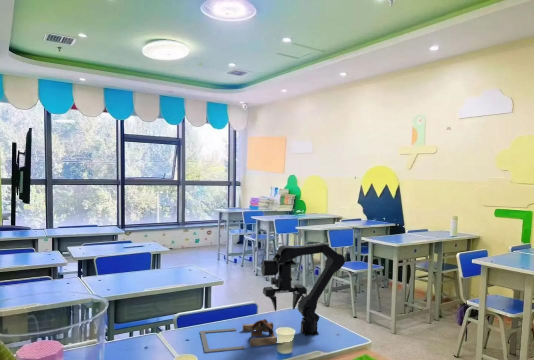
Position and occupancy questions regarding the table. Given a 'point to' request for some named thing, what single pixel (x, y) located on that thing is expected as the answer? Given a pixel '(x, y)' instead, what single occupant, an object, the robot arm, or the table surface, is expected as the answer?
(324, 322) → the table surface
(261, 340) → the holder
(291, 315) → the table surface
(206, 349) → the bay
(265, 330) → the brown curved piece
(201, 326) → the table surface
